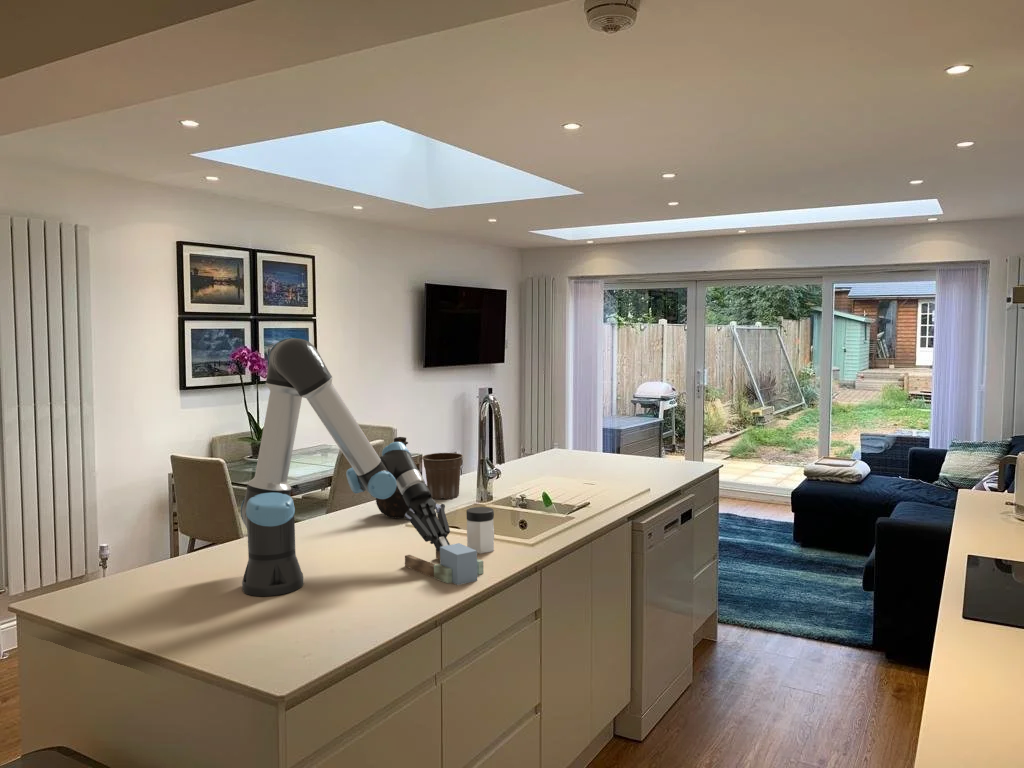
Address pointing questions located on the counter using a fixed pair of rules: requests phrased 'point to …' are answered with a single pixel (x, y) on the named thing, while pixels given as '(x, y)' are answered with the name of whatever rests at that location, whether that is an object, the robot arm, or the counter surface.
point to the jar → (480, 529)
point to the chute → (435, 568)
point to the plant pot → (443, 474)
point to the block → (460, 562)
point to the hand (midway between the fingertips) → (449, 559)
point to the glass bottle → (394, 498)
